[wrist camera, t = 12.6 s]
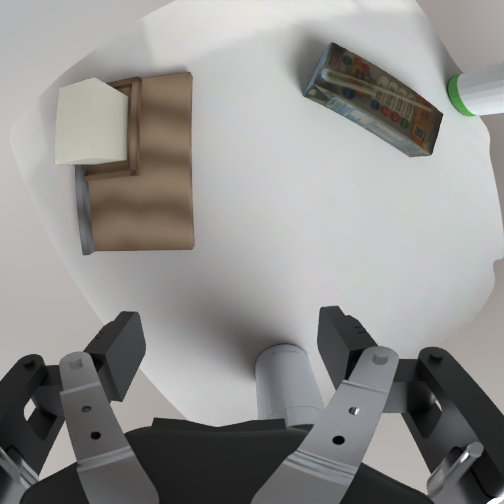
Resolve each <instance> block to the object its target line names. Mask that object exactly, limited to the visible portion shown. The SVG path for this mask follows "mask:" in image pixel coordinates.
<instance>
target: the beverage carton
mask: <svg viewBox="0 0 504 504" xmlns="http://www.w3.org/2000/svg"><path fill="white" fill-rule="evenodd" d="M303 96H304V97H306V98H308V99H310V100H312V101H314V102H317V103H319V104H321V105H323V106H325V107H327V108H329V109H331V110H333V111H334V112H336V113H338V114H340V115H342V116H344V117H346V118H347V119H349V120H351V121H353V122H355V123H356V124H358V125H360V126H361V127H363V128H365V129H366V130H368V131H370V132H371V133H373V134H375V135H376V136H378V137H380V138H381V139H383V140H384V141H386V142H388V143H389V144H391V145H392V146H394V147H395V148H397V149H398V150H400V151H402V152H403V153H405V154H406V155H408V156H409V157H415V156H430V155H432V153H433V149H434V145H435V142H436V139H437V136H438V132H439V128H440V124H441V121H442V117H443V113H441V112H440V111H439V110H438V109H437V108H436V107H434V106H433V105H432V104H430V103H429V102H428V101H427V100H425V99H424V98H423V97H421V96H420V95H419V94H417V93H416V92H415V91H413V90H412V89H410V88H409V87H407V86H406V85H404V84H403V83H402V82H400V81H399V80H397V79H396V78H394V77H393V76H391V75H390V74H388V73H387V72H385V71H383V70H382V69H380V68H378V67H377V66H375V65H374V64H372V63H370V62H368V61H367V60H365V59H363V58H361V57H359V56H358V55H356V54H354V53H351V52H349V51H348V50H347V49H345V48H343V47H340V46H339V45H337V44H335V43H333V42H332V43H330V45H329V46H328V48H327V49H326V50H325V51H324V53H323V54H322V56H321V58H320V60H319V63H318V65H317V67H316V69H315V71H314V73H313V75H312V78H311V80H310V82H309V84H308V86H307V88H306V90H305V92H304V95H303Z"/></svg>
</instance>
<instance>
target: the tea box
mask: <svg viewBox="0 0 504 504" xmlns="http://www.w3.org/2000/svg"><path fill="white" fill-rule="evenodd" d="M128 99H129V97H128V96H126V95H124V94H123V93H121V92H119V91H118V90H116V89H114V88H113V87H111V86H109V85H107V84H106V83H104V82H102V81H101V80H99V79H97V78H95V77H93V78H90V79H86V80H83V81H80V82H77V83H73V84H70V85H67V86H64V87H62V88H59V92H58V102H57V113H56V129H55V165H71V164H102V163H109V162H116V161H124V160H127V122H128Z"/></svg>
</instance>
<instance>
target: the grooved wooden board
mask: <svg viewBox="0 0 504 504" xmlns="http://www.w3.org/2000/svg"><path fill="white" fill-rule="evenodd" d="M106 84H107V85H109V86H111V87H113V88H114V89H116V90H118V91H119V92H121V93H123V94H124V95H126V96H128V97H129V99H128V122H127V160H124V161H116V162H109V163H102V164H75V177H76V197H77V210H78V220H79V229H80V238H81V245H82V252H83V255H89V254H91V253H93V252H94V251H137V250H192V249H193V247H194V229H193V205H192V167H191V114H192V75H191V73H190V72H186V73H177V74H169V75H161V76H154V77H148V78H142V79H141V78H139V77H134V78H128V79H124V80H119V81H114V82H110V83H106Z"/></svg>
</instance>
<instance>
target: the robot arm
mask: <svg viewBox="0 0 504 504" xmlns="http://www.w3.org/2000/svg"><path fill="white" fill-rule="evenodd" d="M317 345H318V350H319V353H320V355H321V357H322V360H323V362H324V364H325V367H326V369H327V371H328V373H329V376H330V378H331V380H332V383H333V385H334V387H335V390H336V392H335V394H334V396H333V397H332V399H331V401H330V402H329V404H328V405H327V407H326V408H324V405H323V401H322V398H321V395H320V392H319V389H318V386H317V383H316V380H315V377H314V374H313V370H312V367H311V364H310V361H309V358H308V356H307V354H306V353H305V352H304V350H302V349H301V348H299V347H297V346H294V345H290V344H282V345H276V346H273V347H271V348H269V349H267V350H265V351H264V352H262V353H261V355H260V356H259V357H258V359H257V360H256V364H255V374H256V391H257V406H258V420H251V421H247V422H242V423H237V424H232V425H227V426H222V427H213V426H208V425H204V424H199V423H195V422H191V421H187V420H178V419H164V418H154V420H153V423H152V426H148V427H143V428H138V429H135V430H132V431H129V432H127V433H125V434H124V433H123V431H122V429H121V427H120V425H119V423H118V421H117V419H116V417H115V415H114V413H113V410H112V408H111V406H110V402H111V401H112V400H113V401H119V402H122V401H123V399H124V397H125V395H126V393H127V390H128V388H129V386H130V384H131V382H132V380H133V378H134V376H135V374H136V372H137V369H138V367H139V365H140V363H141V361H142V359H143V357H144V355H145V351H146V343H145V338H144V334H143V329H142V324H141V319H140V315H139V313H138V312H127V311H122V312H121V313H120V314H119V315H118V316H117V317H116V319H115V320H114V321H111V322H110V323H108V324H106V325H105V326H103V328H102V329H101V330H100V331H99V334H97V335H96V336H95V339H93V340H92V341H91V342H90V343H89V345H88V346H87V347H86V348H85V350H84V351H83V352H73V353H70V354H68V355H66V356H64V357H63V358H62V359H61V361H60V363H59V365H50V366H46V365H45V363H44V360H43V358H42V357H41V356H40V355H37V354H31V355H27V356H24V357H22V358H21V359H19V360H18V362H17V363H16V364H15V365H14V366H13V367H12V368H11V369H10V370H9V372H8V373H7V374H6V375H5V376H4V377H3V379H2V380H1V381H0V504H497V503H499V502H500V501H501V500H502V499H503V498H504V415H503V414H502V413H501V412H500V410H499V409H498V408H497V407H496V405H495V404H494V403H493V402H492V401H491V400H490V398H489V397H488V396H487V395H486V394H485V392H484V391H483V390H482V389H481V388H480V387H479V386H478V384H477V383H476V382H475V381H474V380H473V379H472V378H471V376H470V375H469V374H468V373H467V372H466V371H465V370H464V369H463V368H462V366H461V365H460V364H459V363H458V362H457V361H456V360H455V359H454V358H453V357H452V356H451V355H450V353H448V352H447V351H446V350H444V349H441V348H438V347H427V348H424V349H422V350H421V351H420V353H419V356H418V359H399V356H398V354H397V353H396V352H395V351H394V350H392V349H390V348H387V347H383V346H378V345H377V344H376V342H375V341H374V340H373V339H372V337H371V336H370V335H369V333H368V332H367V331H366V330H365V328H364V327H363V326H362V325H361V323H360V322H359V321H358V320H357V319H355V318H353V317H352V316H350V315H347V316H345V315H344V313H343V312H342V310H341V309H340V308H339V306H328V307H321V308H320V313H319V324H318V336H317ZM30 398H31V399H32V401H33V403H34V404H35V406H36V408H35V409H34V411H33V413H32V414H31V416H30V417H29V419H28V421H26V419H25V417H24V407H25V406H26V404H27V403H28V401H29V400H30ZM436 399H437V400H438V402H439V403H440V405H441V409H442V412H441V410H440V409H439V407H438V406H437V404H436V403H435V401H436ZM382 413H401V415H402V417H403V418H404V420H405V422H406V424H407V426H408V428H409V430H410V432H411V434H412V436H413V438H414V440H415V442H416V444H417V446H418V448H419V450H420V452H421V454H422V456H423V458H424V460H425V462H426V464H427V467H428V468H429V471H430V473H431V476H430V477H429V479H428V481H427V492H428V496H427V495H425V494H424V493H422V492H420V491H418V490H416V489H413V488H411V487H409V486H407V485H405V484H403V483H400V482H398V481H396V480H394V479H392V478H391V477H388V476H386V475H385V474H383V473H381V472H379V471H377V470H375V469H373V468H372V467H369V466H368V465H366V464H364V463H362V462H361V461H362V459H363V457H364V455H365V453H366V451H367V448H368V446H369V444H370V442H371V439H372V437H373V434H374V432H375V429H376V427H377V425H378V422H379V420H380V417H381V414H382ZM65 420H66V424H67V428H68V432H69V436H70V440H71V443H72V447H73V450H74V453H75V456H76V459H77V462H75V463H73V464H71V465H70V466H68V467H66V468H64V469H62V470H60V471H59V472H57V473H55V474H53V475H51V476H49V477H47V478H45V479H43V480H41V481H39V478H38V476H39V474H40V472H41V470H42V467H43V465H44V463H45V461H46V458H47V456H48V454H49V451H50V450H51V448H52V446H53V443H54V441H55V439H56V437H57V435H58V433H59V431H60V429H61V427H62V425H63V423H64V421H65Z"/></svg>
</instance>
